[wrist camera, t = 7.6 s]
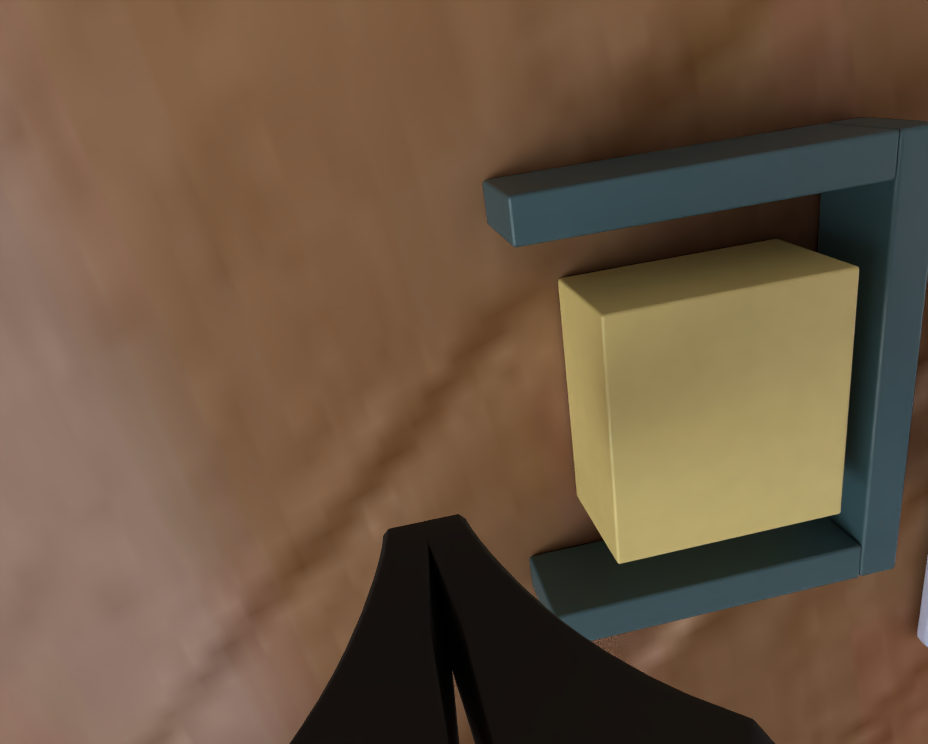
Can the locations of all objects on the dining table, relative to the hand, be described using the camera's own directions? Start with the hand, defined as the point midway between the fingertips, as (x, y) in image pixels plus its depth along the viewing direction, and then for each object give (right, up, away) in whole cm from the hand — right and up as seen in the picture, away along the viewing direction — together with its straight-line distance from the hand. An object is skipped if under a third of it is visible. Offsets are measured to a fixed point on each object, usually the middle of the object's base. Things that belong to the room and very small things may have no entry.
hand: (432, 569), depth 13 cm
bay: (+6, +3, +6) cm, 9 cm away
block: (+6, +3, +6) cm, 9 cm away
